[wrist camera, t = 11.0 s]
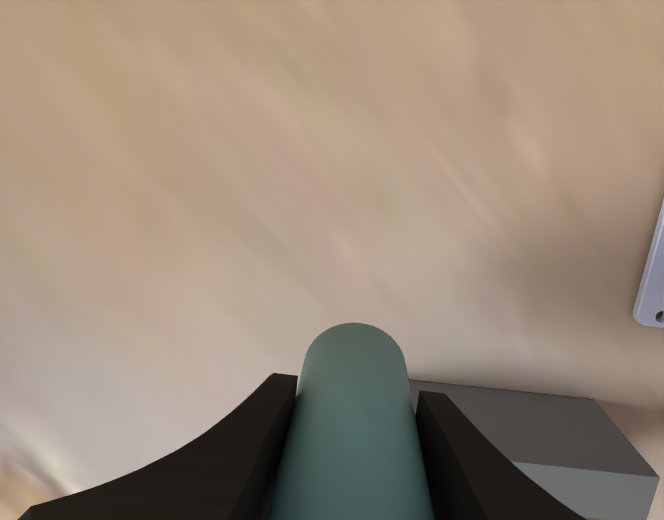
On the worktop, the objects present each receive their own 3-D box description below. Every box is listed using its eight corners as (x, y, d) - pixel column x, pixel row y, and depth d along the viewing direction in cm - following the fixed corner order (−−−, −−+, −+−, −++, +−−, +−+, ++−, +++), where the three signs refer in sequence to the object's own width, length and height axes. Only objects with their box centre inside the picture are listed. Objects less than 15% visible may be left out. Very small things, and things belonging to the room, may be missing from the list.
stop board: (593, 399, 22) (659, 477, 17) (583, 437, 22) (645, 524, 17) (370, 376, 22) (373, 446, 17) (365, 414, 23) (367, 493, 18)
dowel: (412, 329, 14) (477, 584, 6) (398, 419, 15) (440, 747, 7) (307, 317, 14) (243, 555, 6) (300, 408, 15) (233, 718, 7)
